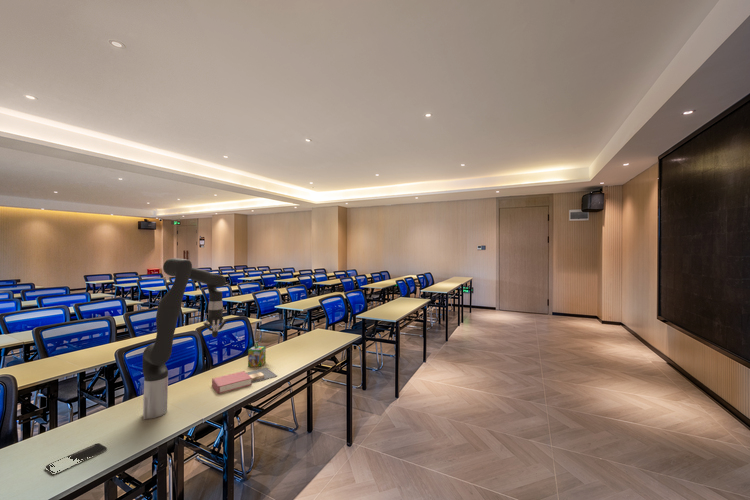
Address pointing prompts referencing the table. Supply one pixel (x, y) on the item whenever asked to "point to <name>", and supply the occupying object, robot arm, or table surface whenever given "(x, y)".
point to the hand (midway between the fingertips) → (214, 337)
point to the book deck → (231, 382)
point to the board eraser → (256, 376)
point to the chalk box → (256, 356)
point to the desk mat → (265, 371)
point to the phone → (84, 453)
